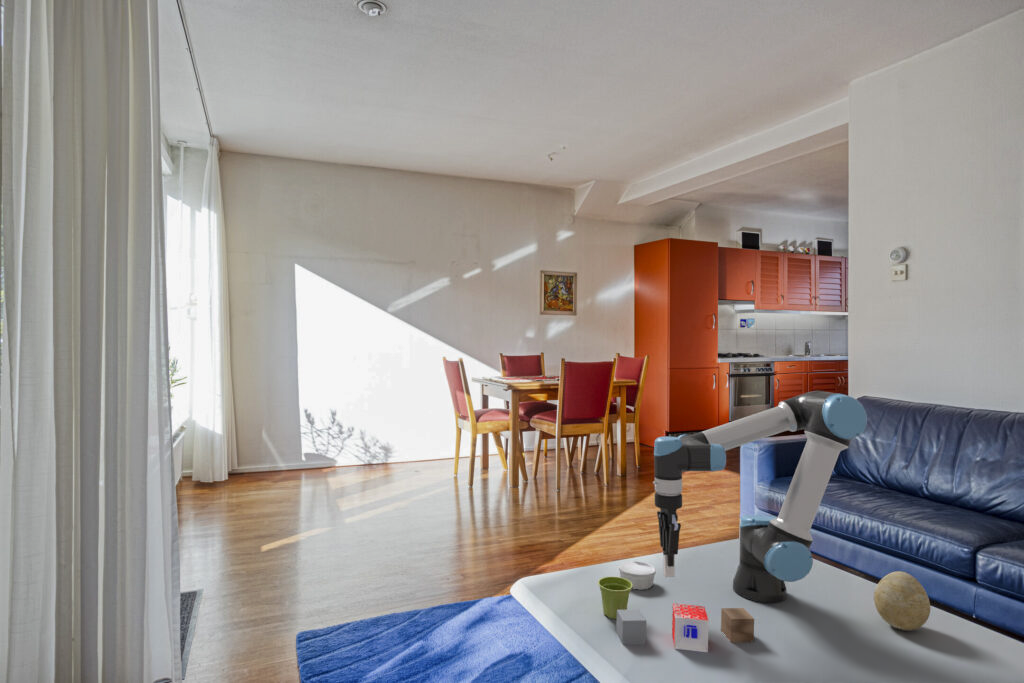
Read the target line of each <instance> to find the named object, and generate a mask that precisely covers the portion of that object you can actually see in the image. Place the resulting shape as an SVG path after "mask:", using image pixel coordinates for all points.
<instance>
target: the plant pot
mask: <svg viewBox="0 0 1024 683" xmlns="http://www.w3.org/2000/svg"><path fill="white" fill-rule="evenodd" d="M597 584H598V586H599V590H600V594H601V602H602V603H601V604H602V611H603V615H604V616H607V618H609V619H613V620H617V610H628V603H629V598H630V594H631V591H632V590H633V589H632V587H633V584H632V583H631V582H630V581H629V580H627V579H624V578H621V577H620V576H604V577H601V578H599V580H598V581H597Z"/></svg>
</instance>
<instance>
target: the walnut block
mask: <svg viewBox="0 0 1024 683" xmlns="http://www.w3.org/2000/svg"><path fill="white" fill-rule="evenodd" d="M720 609H721V614H720V617H721V618H720V631H721V633H722V632H723V633H724V634H725V635H726V636H725V635H724V634H723V633H722V634H723V635H724V636H725V638H727V640H728V639H729V640H730V641H729V640H728V641H729V642H730V643H752V642H751V641H754V640H755V618H754V616H752V615H751V614H750V613H749V612H748V611H747V610H746V609H745V608H743V607H733V608H732V607H731V608H729V607H728V608H727V607H725V608H720Z"/></svg>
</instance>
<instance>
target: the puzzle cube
mask: <svg viewBox="0 0 1024 683" xmlns="http://www.w3.org/2000/svg"><path fill="white" fill-rule="evenodd" d="M671 615H672V616H671V617H672V619H671V620H672V622H671V626H672V627H671V632H672V633H671V635H672V641H673V642H672V643H673V647H674V650H675V649H676V650H684V651H685V650H686V651H693V652H701V653H702V652H703V653H708V652H709V623H710V622H709V617H708V614H707V611H706V608H705V606H701V605H694V604H693V605H692V604H684V603H683V604H682V603H672V614H671Z"/></svg>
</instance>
